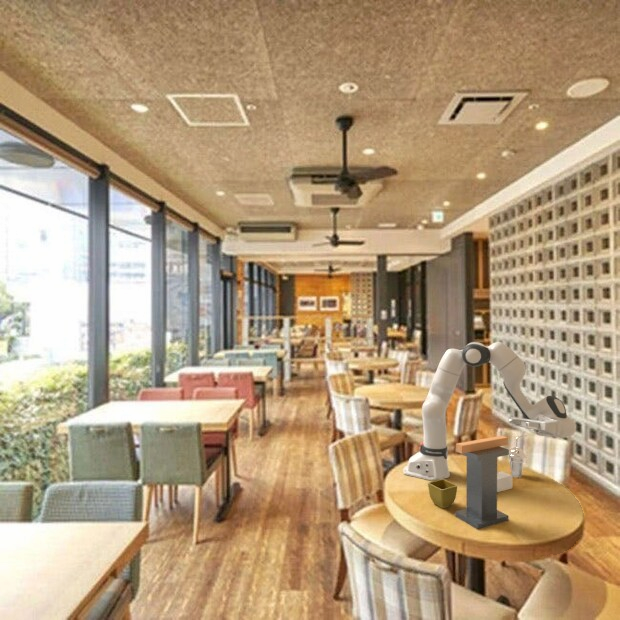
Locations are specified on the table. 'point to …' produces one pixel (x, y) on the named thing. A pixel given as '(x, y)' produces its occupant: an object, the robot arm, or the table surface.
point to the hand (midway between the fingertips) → (518, 422)
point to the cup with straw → (516, 460)
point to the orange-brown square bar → (481, 444)
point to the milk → (503, 481)
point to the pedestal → (482, 488)
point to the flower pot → (442, 492)
